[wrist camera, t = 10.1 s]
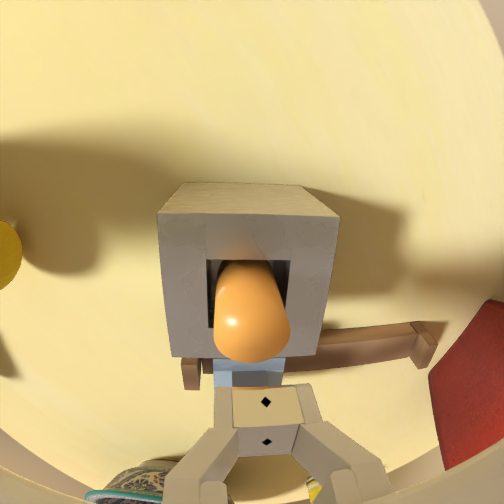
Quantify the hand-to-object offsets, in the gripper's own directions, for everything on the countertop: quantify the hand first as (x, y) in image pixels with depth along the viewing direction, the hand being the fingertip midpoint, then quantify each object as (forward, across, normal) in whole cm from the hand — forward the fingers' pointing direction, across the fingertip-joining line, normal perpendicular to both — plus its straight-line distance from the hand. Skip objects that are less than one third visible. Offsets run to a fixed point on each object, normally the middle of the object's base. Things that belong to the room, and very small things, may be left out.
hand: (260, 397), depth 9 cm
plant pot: (+14, -32, +14) cm, 38 cm away
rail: (+14, -7, +9) cm, 18 cm away
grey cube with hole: (+14, 0, -1) cm, 14 cm away
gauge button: (+8, 0, 0) cm, 8 cm away
